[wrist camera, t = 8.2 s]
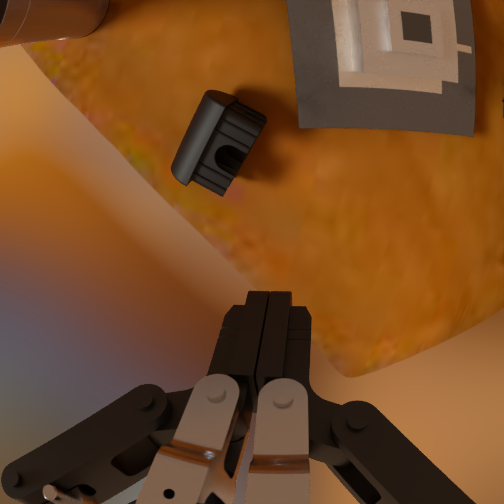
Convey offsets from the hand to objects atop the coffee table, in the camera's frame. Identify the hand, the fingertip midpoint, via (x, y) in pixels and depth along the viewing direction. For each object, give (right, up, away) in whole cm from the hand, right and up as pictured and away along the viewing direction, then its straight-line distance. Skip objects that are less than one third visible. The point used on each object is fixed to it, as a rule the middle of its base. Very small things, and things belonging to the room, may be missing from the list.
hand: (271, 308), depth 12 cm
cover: (+13, +23, +12) cm, 29 cm away
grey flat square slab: (+13, +24, +14) cm, 30 cm away
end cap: (-4, +16, +25) cm, 30 cm away
